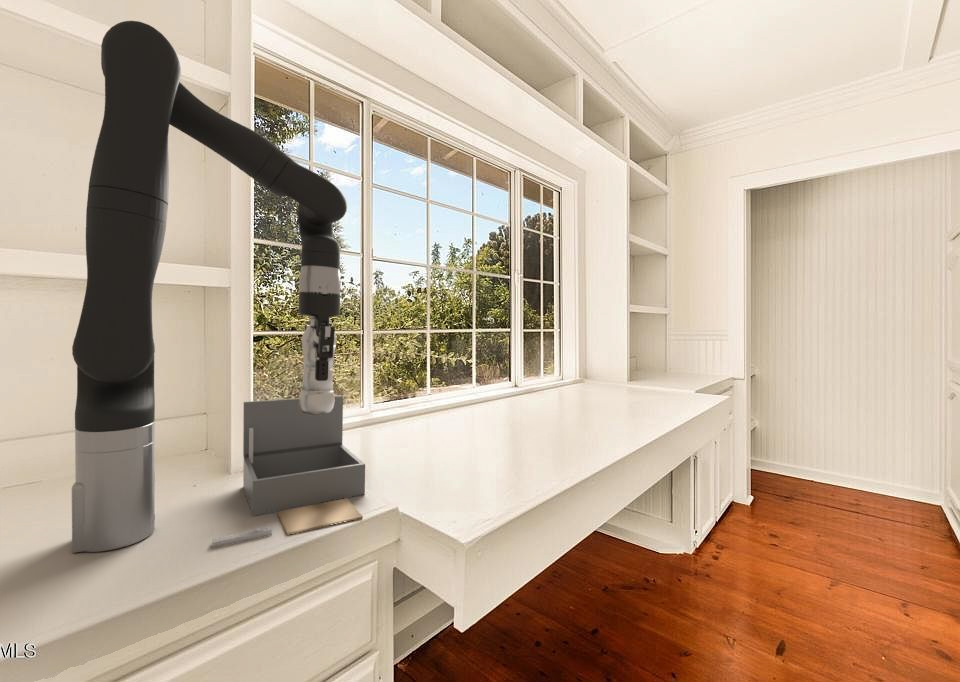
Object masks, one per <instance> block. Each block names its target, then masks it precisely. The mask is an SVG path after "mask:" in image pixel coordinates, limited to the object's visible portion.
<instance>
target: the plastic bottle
mask: <svg viewBox="0 0 960 682" xmlns="http://www.w3.org/2000/svg"><path fill="white" fill-rule="evenodd" d="M330 318H331V317H329V322H331V319H330ZM308 321H311V324H310V325H309V324H308V325H309V326H308V328H307V329H306V330H305V329H304V331H303V334H302V336H301V348H302V361H303V364H302V365H303V376H302V382H301V383H302V384H301V391H300V393H299V407H300V410H301V411H302V413H305V414H311V415H320V414H324V413H329V412H331V410H332V409H333V407H334V402H335V397H334V396H335V392H334V381H333V380H334V379H333V369H334V368H333V366H334V361H335V360H334V358H335V355H336V354H335V353H336V348H337V347H336V346H337V340H338V338H337V335H336V333H335V334H334V347H333V357H332V358H330V360H329V362H328V379H327V380H326V381H317V380H316V379H315V364H316V359H315V349H313V347H312V344H313V340H314V341H316V343H318V344H319V337H318V336H317V335H316V329H314V331H313V334H312V333H311V332H310V328H309V327H310V326H314V325H315V317H313V316H310V317H309V318H308ZM322 351H326V348H322Z"/></svg>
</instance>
